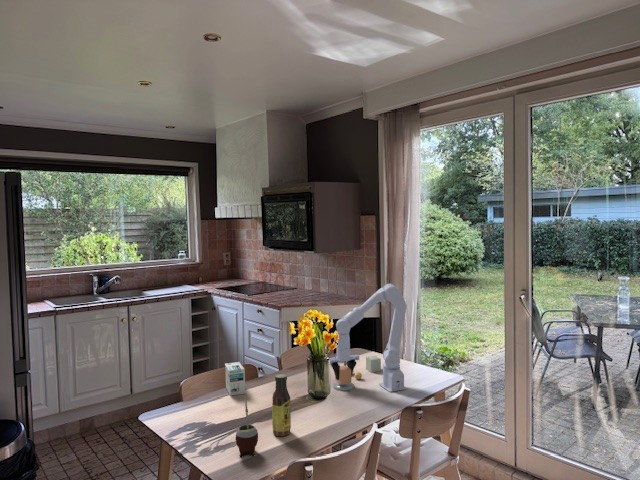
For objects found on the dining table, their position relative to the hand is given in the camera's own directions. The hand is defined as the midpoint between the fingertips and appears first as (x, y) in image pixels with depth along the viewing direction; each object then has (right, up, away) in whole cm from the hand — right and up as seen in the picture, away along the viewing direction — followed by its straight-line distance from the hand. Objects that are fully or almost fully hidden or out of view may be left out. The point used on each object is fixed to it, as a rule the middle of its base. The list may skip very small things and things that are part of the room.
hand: (343, 378), depth 201 cm
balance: (+2, -3, +20) cm, 20 cm away
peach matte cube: (0, -2, 0) cm, 2 cm away
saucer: (0, -4, 0) cm, 4 cm away
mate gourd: (-33, -8, -54) cm, 64 cm away
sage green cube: (+15, -2, +21) cm, 26 cm away
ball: (+7, -3, +10) cm, 12 cm away
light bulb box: (-46, -5, -2) cm, 47 cm away
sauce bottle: (-23, -7, -41) cm, 48 cm away
